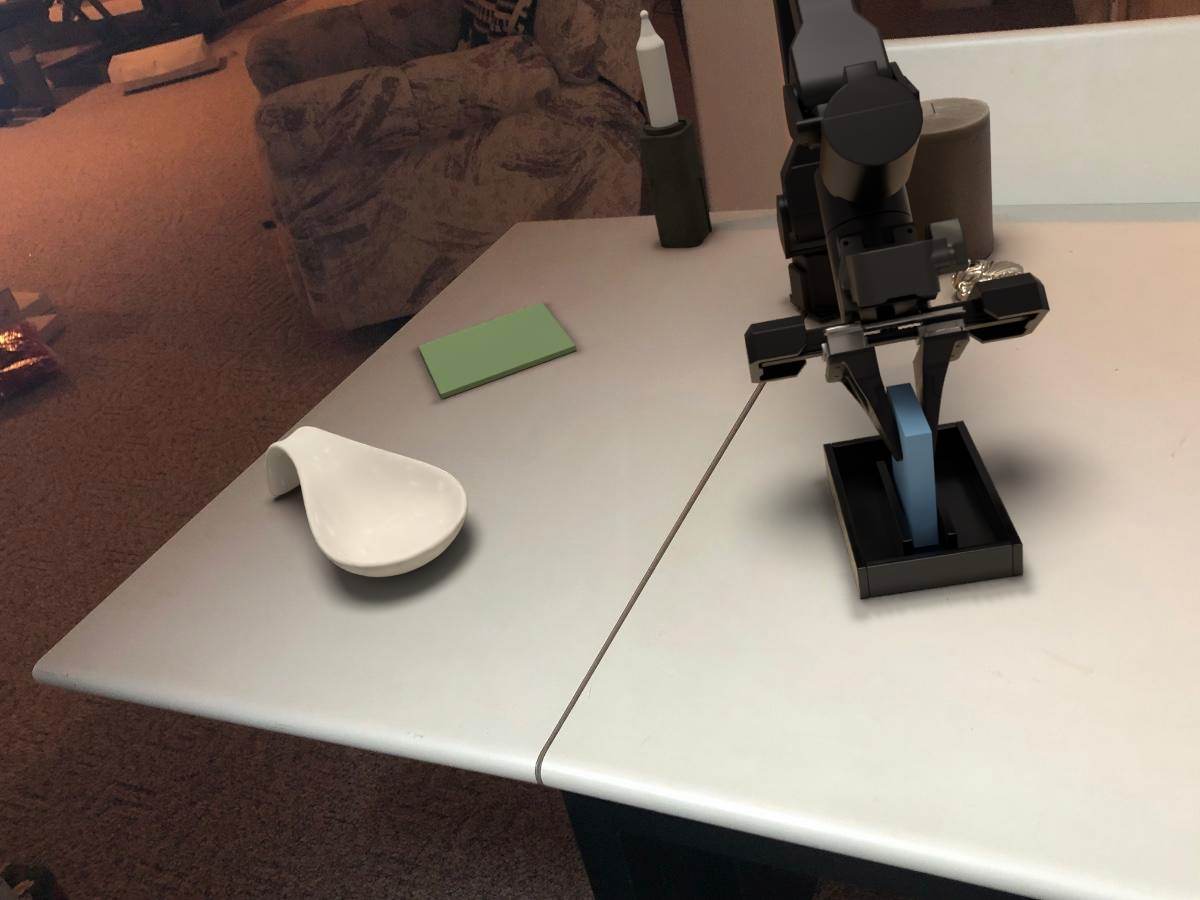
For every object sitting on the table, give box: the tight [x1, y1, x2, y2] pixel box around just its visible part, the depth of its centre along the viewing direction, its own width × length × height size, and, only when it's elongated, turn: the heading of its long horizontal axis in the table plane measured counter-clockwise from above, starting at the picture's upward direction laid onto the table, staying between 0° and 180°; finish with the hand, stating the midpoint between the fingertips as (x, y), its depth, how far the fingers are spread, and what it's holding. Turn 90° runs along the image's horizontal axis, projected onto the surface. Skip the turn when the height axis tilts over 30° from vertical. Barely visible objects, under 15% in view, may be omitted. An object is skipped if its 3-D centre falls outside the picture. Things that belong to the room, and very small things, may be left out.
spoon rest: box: [264, 425, 469, 578], centre depth 87 cm, size 24×12×7 cm, turn 46°
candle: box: [635, 9, 713, 248], centre depth 116 cm, size 5×5×25 cm
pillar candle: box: [905, 96, 994, 266], centre depth 103 cm, size 10×10×15 cm
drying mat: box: [418, 301, 577, 400], centre depth 110 cm, size 14×12×1 cm
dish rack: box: [822, 420, 1024, 600], centre depth 73 cm, size 14×10×4 cm
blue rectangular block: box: [885, 382, 938, 548], centre depth 71 cm, size 6×2×9 cm, turn 179°
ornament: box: [950, 259, 1025, 302], centre depth 95 cm, size 8×7×4 cm
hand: (915, 457), depth 69 cm, fingers closed on blue rectangular block, 2 cm apart
